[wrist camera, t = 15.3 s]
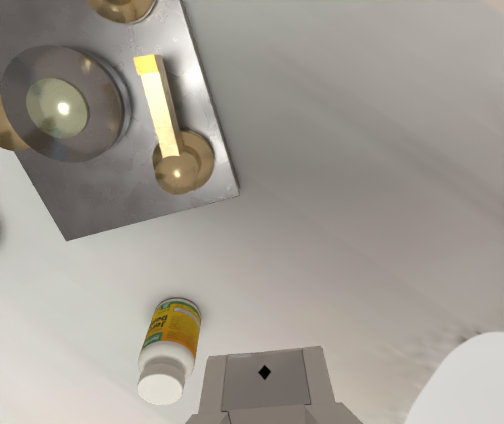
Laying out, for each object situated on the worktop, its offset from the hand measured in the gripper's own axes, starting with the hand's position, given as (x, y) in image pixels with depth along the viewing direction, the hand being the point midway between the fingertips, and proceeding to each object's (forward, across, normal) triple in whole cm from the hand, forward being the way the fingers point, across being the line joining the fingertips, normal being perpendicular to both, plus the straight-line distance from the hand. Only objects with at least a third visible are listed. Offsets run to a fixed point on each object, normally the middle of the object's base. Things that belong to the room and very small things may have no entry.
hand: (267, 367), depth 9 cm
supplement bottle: (+24, +11, +17) cm, 32 cm away
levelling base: (+23, +12, -7) cm, 27 cm away
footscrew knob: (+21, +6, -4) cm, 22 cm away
